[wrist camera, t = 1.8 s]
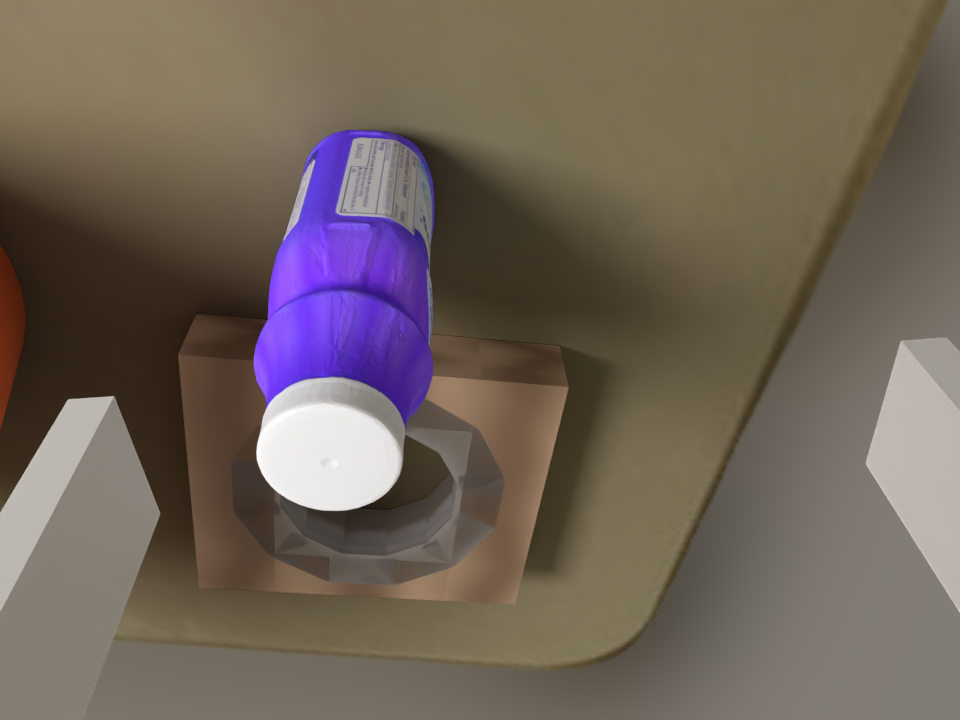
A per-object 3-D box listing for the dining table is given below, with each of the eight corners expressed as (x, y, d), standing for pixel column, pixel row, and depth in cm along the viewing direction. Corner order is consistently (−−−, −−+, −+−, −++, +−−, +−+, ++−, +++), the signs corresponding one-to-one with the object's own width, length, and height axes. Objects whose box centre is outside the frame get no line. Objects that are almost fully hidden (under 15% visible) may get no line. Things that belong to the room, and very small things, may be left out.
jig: (212, 540, 49) (198, 588, 46) (196, 313, 40) (177, 354, 37) (510, 558, 51) (515, 604, 48) (559, 345, 42) (568, 387, 39)
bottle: (431, 271, 39) (429, 551, 25) (310, 266, 39) (238, 548, 24) (437, 121, 35) (439, 354, 21) (302, 113, 34) (209, 346, 20)
